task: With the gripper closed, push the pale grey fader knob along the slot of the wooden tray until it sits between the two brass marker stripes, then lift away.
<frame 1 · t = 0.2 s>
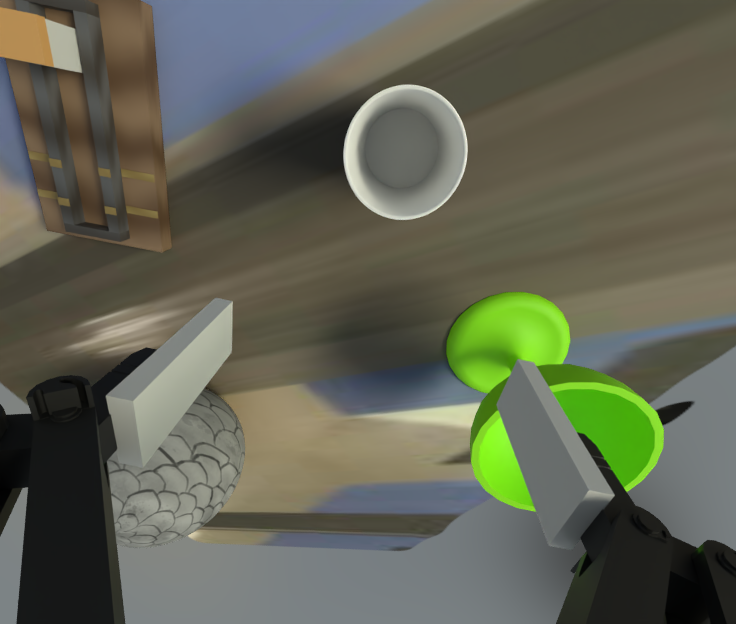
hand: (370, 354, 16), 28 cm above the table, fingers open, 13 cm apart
fader knob: (43, 43, 31), point 5 cm above the table, slide at -7.0 cm
wooden tray: (100, 131, 39), on the table
decorative sphere: (204, 406, 56), on the table
wineglass: (506, 345, 47), on the table
cup: (401, 149, 38), on the table
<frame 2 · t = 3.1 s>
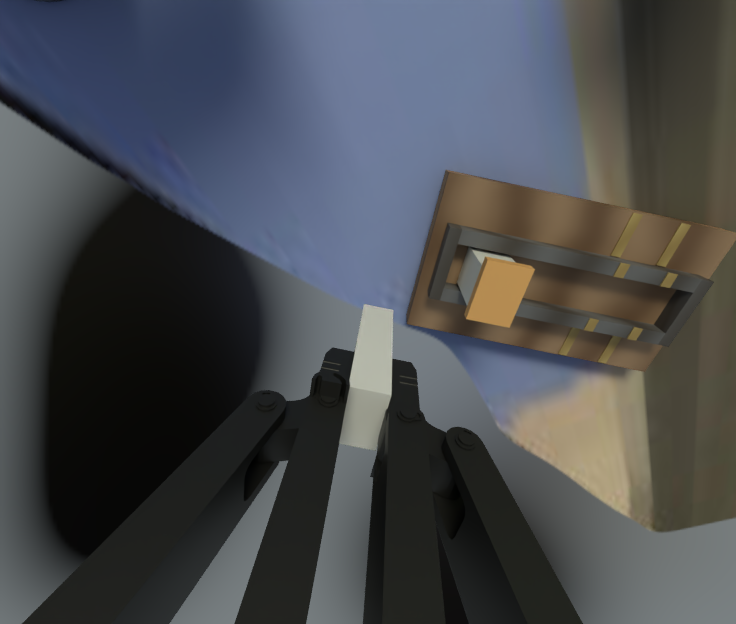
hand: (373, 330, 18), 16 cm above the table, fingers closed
fader knob: (489, 280, 28), point 5 cm above the table, slide at -7.0 cm
wooden tray: (549, 275, 33), on the table
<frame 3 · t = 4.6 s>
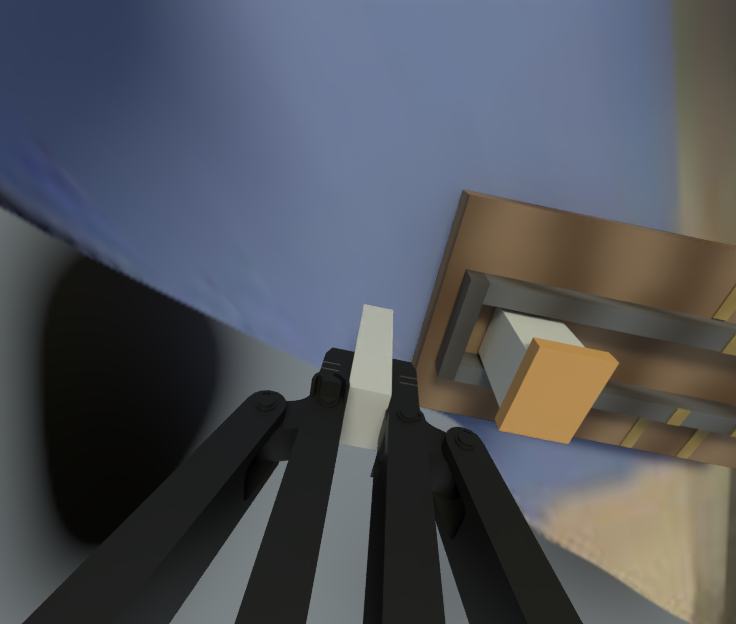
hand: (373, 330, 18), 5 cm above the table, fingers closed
fader knob: (532, 361, 18), point 5 cm above the table, slide at -7.0 cm
wooden tray: (609, 337, 23), on the table
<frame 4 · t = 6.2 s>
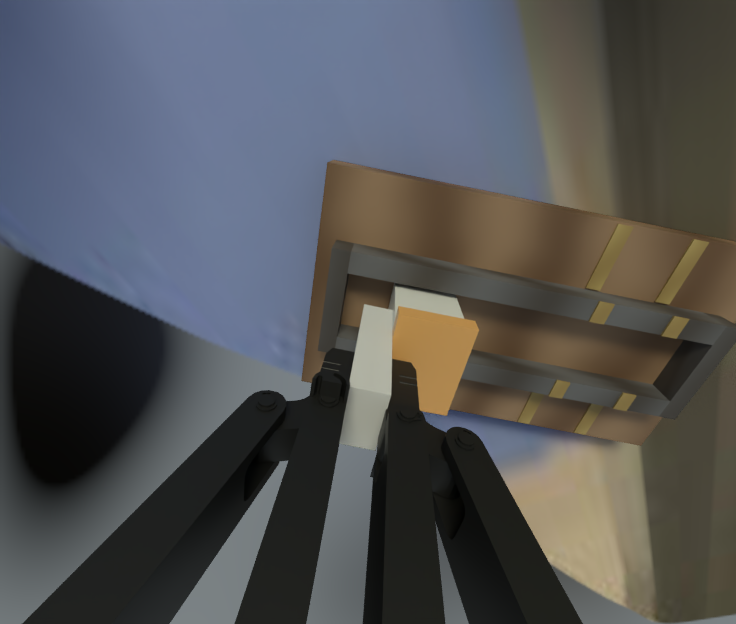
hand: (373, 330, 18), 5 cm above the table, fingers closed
fader knob: (420, 335, 18), point 5 cm above the table, slide at -5.7 cm, touching gripper
wooden tray: (500, 312, 23), on the table
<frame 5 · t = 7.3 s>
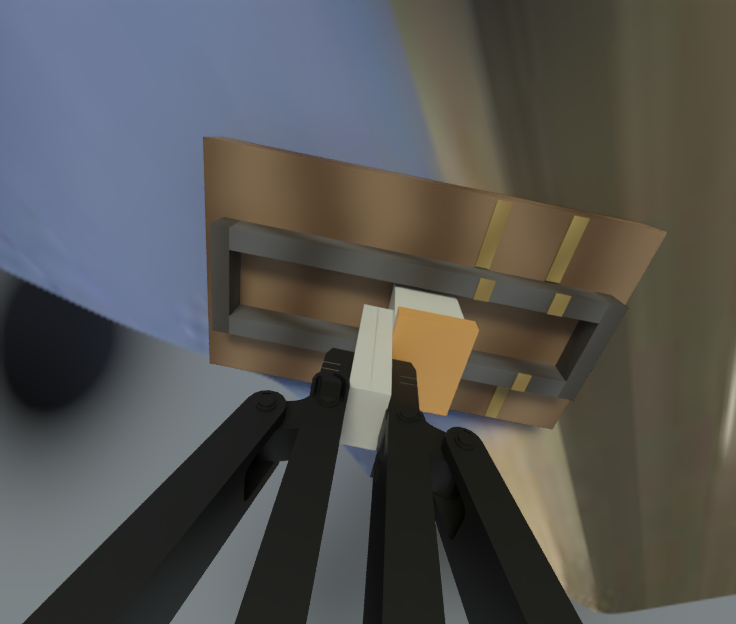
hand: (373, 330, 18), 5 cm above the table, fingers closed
fader knob: (420, 335, 18), point 5 cm above the table, slide at 0.7 cm, touching gripper
wooden tray: (405, 293, 23), on the table
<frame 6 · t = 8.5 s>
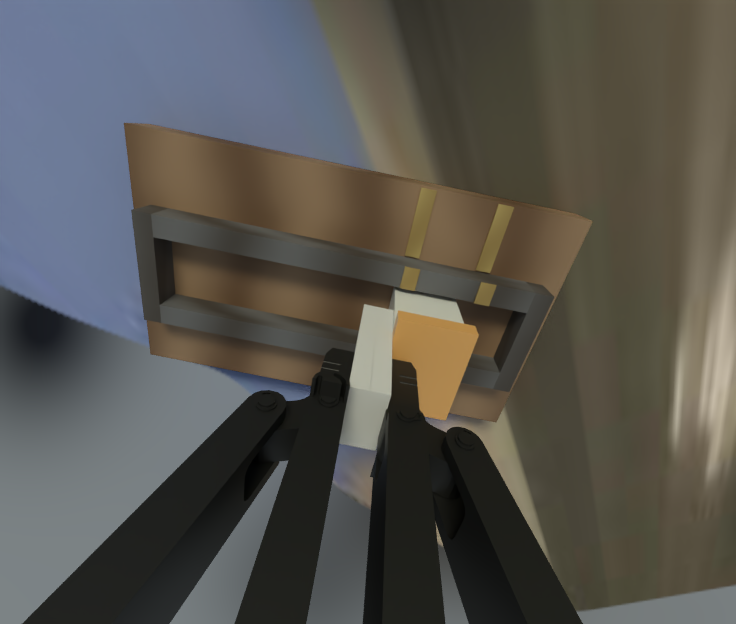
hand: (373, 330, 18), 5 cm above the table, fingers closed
fader knob: (419, 339, 18), point 5 cm above the table, slide at 4.6 cm, touching gripper
wooden tray: (345, 284, 23), on the table
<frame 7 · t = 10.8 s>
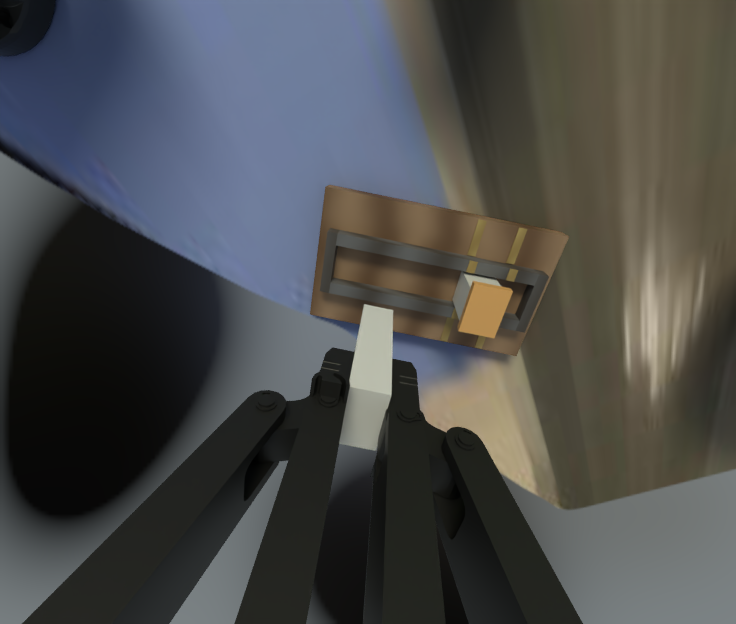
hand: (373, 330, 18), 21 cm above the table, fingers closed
fader knob: (478, 299, 34), point 5 cm above the table, slide at 4.7 cm
wooden tray: (427, 272, 39), on the table
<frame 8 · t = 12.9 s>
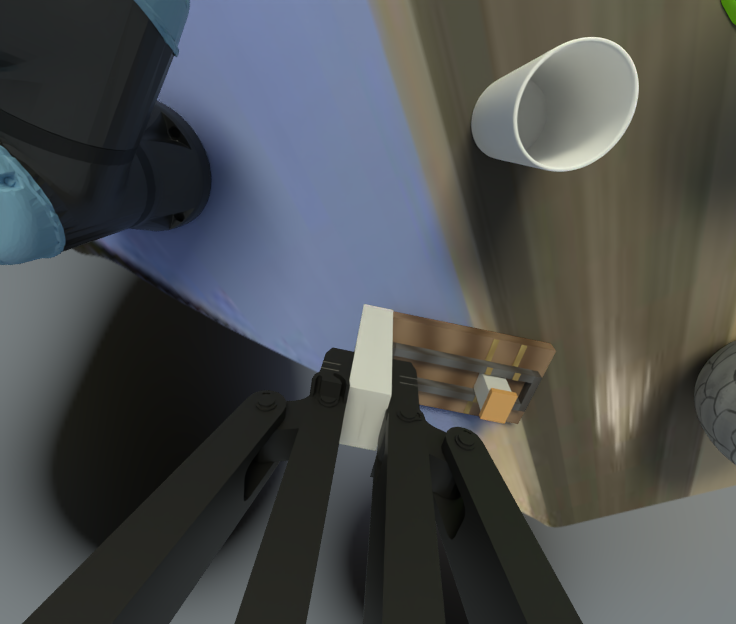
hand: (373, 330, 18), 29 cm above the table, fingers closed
fader knob: (493, 393, 49), point 5 cm above the table, slide at 4.7 cm
wooden tray: (455, 366, 54), on the table
decorative sphere: (734, 361, 50), on the table
cup: (508, 119, 39), on the table
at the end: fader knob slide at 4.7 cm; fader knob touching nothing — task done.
